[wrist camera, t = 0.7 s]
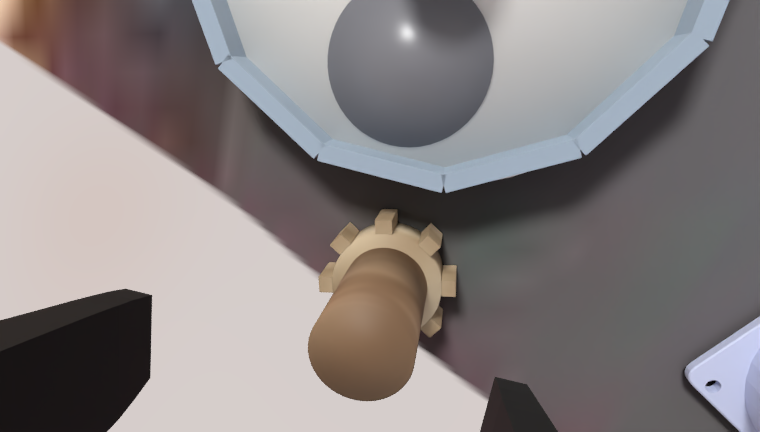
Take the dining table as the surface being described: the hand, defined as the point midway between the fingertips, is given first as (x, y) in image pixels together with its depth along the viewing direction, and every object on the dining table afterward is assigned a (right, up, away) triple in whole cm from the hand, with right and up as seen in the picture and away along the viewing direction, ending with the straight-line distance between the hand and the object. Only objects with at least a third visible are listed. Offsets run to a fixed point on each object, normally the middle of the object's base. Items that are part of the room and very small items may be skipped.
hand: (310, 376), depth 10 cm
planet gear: (+2, +1, +9) cm, 10 cm away
